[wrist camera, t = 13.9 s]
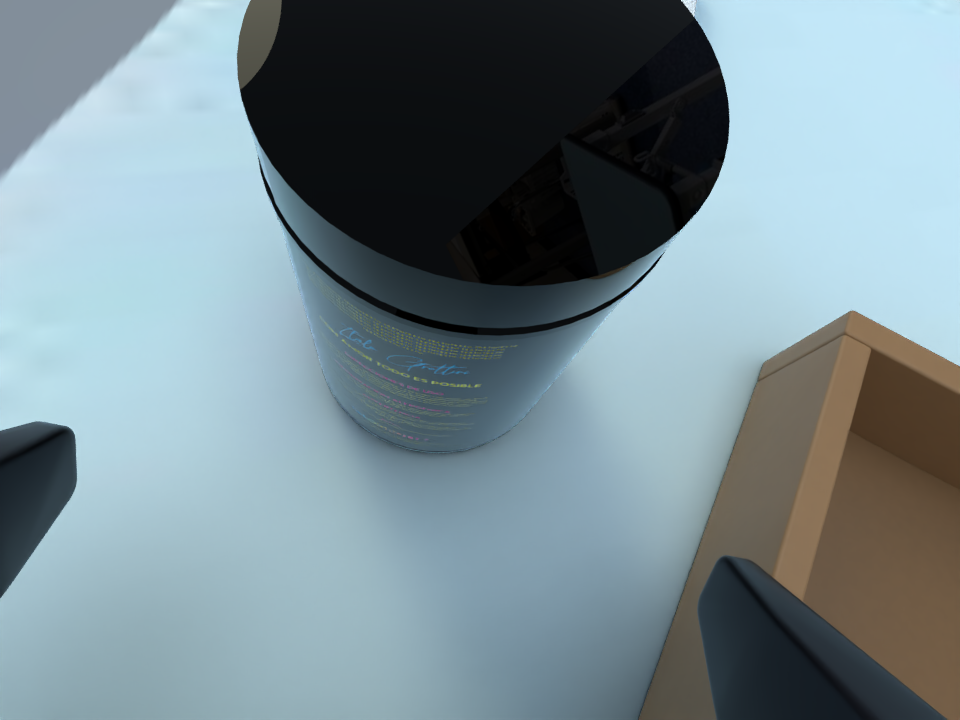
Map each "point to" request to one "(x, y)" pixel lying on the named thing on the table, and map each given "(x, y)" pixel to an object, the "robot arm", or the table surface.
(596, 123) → the supplement container
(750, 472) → the storage box
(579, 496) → the table surface
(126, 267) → the table surface
